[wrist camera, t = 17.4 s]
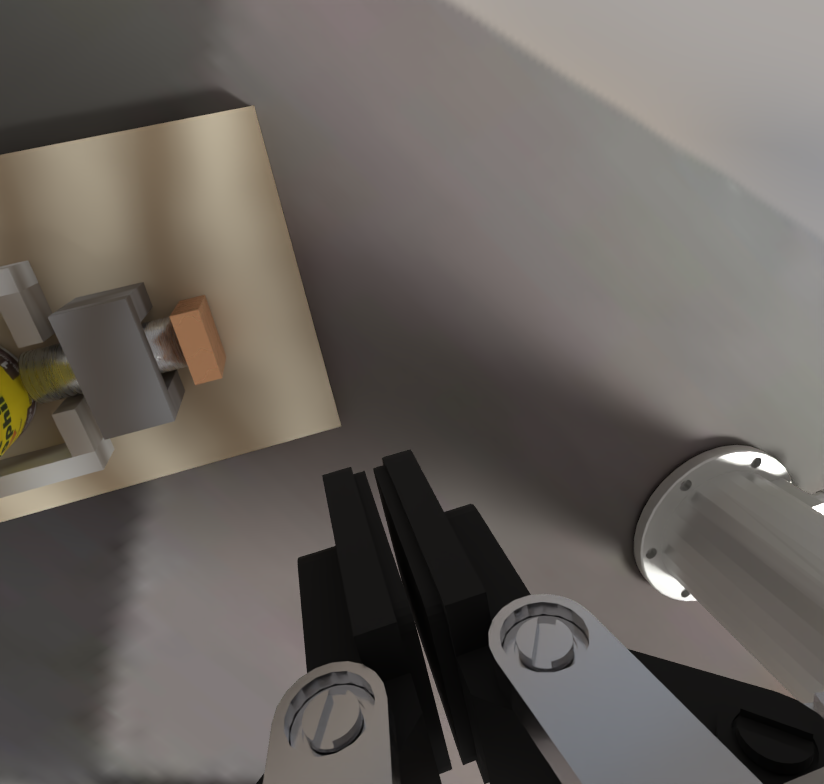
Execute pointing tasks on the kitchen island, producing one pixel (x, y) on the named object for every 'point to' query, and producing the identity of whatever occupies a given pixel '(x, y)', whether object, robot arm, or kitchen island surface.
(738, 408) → the kitchen island surface
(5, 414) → the supplement bottle
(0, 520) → the dock
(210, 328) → the lock pin
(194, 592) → the kitchen island surface
